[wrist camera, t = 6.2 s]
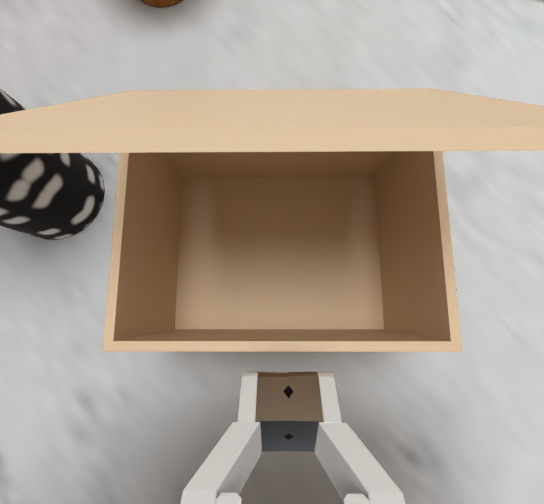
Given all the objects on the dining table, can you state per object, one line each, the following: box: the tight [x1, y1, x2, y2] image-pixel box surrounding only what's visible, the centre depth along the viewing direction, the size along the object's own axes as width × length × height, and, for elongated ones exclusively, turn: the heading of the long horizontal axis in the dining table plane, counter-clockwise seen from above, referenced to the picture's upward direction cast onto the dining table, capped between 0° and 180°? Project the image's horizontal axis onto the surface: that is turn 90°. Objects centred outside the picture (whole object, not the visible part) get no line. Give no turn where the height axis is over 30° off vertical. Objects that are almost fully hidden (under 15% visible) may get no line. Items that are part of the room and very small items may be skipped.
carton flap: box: [0, 89, 544, 153], centre depth 13 cm, size 13×17×1 cm
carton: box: [103, 151, 462, 352], centre depth 23 cm, size 14×18×11 cm
